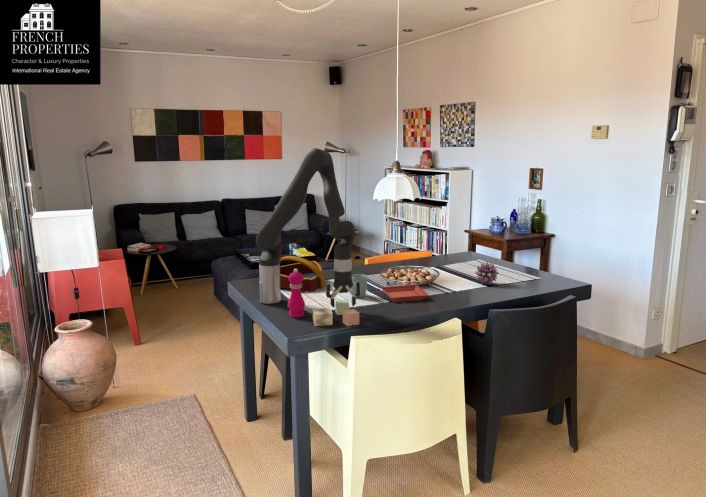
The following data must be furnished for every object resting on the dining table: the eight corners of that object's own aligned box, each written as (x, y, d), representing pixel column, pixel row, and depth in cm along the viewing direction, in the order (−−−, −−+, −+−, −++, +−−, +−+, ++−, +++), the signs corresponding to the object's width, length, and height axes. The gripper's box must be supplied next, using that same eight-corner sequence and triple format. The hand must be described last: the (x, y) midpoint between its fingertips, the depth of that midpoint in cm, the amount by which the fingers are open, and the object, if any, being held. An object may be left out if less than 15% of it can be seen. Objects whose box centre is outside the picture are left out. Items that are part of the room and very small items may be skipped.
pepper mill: (288, 312, 226) (287, 266, 222) (305, 312, 226) (304, 266, 223) (287, 318, 219) (286, 270, 215) (305, 317, 219) (304, 270, 216)
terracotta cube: (347, 326, 210) (348, 314, 209) (342, 322, 214) (342, 310, 213) (359, 324, 212) (359, 312, 211) (353, 320, 216) (353, 309, 215)
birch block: (314, 326, 210) (314, 314, 209) (312, 320, 216) (312, 308, 215) (332, 325, 211) (332, 313, 210) (329, 319, 218) (329, 308, 217)
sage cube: (337, 315, 223) (337, 303, 222) (335, 311, 228) (335, 300, 227) (349, 314, 224) (349, 303, 223) (346, 311, 229) (346, 299, 228)
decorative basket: (255, 287, 275) (251, 260, 271) (296, 269, 296) (293, 243, 291) (301, 300, 254) (297, 271, 249) (341, 280, 274) (339, 253, 270)
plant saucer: (391, 304, 240) (391, 297, 240) (380, 293, 258) (380, 286, 257) (429, 301, 244) (429, 294, 244) (415, 291, 262) (415, 284, 261)
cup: (365, 299, 246) (365, 278, 244) (348, 298, 248) (348, 277, 246) (368, 294, 254) (368, 274, 252) (352, 293, 255) (352, 273, 253)
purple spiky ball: (500, 283, 276) (502, 261, 273) (493, 288, 266) (494, 265, 263) (479, 280, 282) (480, 258, 279) (471, 285, 272) (472, 262, 269)
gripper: (327, 271, 218) (328, 310, 221) (361, 270, 221) (361, 307, 224) (324, 267, 225) (325, 305, 228) (357, 266, 228) (357, 302, 231)
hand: (343, 306), depth 226 cm, fingers open, 8 cm apart
